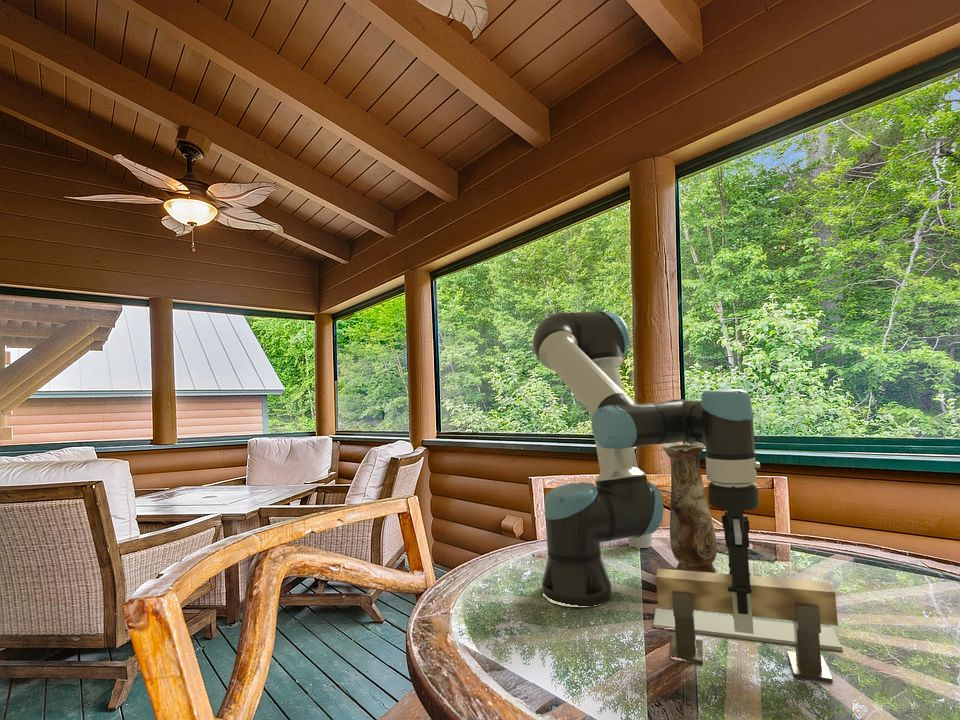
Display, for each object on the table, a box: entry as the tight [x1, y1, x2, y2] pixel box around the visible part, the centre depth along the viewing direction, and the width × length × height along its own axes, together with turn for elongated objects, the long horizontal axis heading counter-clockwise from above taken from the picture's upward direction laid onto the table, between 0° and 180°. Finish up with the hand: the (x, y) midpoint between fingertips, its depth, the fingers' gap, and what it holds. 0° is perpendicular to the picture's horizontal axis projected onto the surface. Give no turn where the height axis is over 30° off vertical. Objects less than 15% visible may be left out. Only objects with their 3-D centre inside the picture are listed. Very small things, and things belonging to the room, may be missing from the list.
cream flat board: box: [652, 608, 843, 652], centre depth 96 cm, size 30×7×1 cm, turn 67°
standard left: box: [669, 591, 704, 665], centre depth 90 cm, size 5×7×11 cm
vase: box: [661, 441, 718, 573], centre depth 125 cm, size 10×11×30 cm
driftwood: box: [717, 542, 778, 564], centre depth 136 cm, size 21×7×2 cm, turn 34°
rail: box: [655, 568, 839, 627], centre depth 86 cm, size 26×4×5 cm, turn 67°
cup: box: [627, 533, 653, 549], centre depth 145 cm, size 8×8×12 cm
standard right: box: [786, 603, 834, 684], centre depth 83 cm, size 5×7×11 cm
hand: (742, 624), depth 86 cm, fingers closed on rail, 4 cm apart
